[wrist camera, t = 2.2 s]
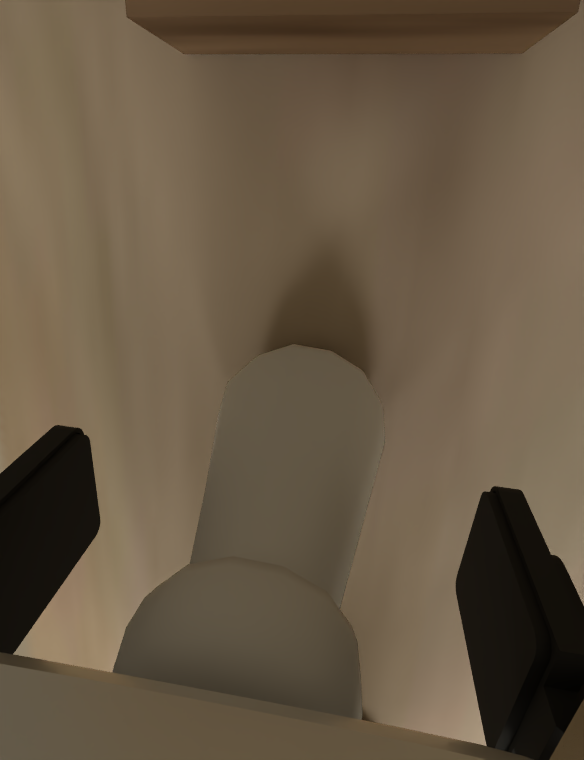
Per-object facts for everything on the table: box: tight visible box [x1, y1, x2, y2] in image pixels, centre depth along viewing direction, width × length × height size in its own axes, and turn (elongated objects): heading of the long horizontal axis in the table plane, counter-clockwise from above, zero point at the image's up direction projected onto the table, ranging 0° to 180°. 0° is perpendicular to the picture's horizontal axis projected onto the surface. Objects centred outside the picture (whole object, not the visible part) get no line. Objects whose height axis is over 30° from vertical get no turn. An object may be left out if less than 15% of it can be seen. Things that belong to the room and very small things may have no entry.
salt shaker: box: [112, 344, 385, 720], centre depth 13 cm, size 6×6×13 cm
